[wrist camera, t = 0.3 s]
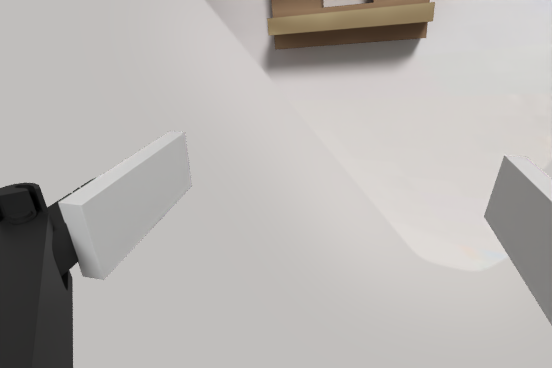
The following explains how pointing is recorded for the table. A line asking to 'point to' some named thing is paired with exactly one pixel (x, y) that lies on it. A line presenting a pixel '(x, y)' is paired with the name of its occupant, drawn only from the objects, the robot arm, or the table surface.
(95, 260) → the robot arm
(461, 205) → the table surface
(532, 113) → the table surface
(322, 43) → the wooden board
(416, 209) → the table surface
